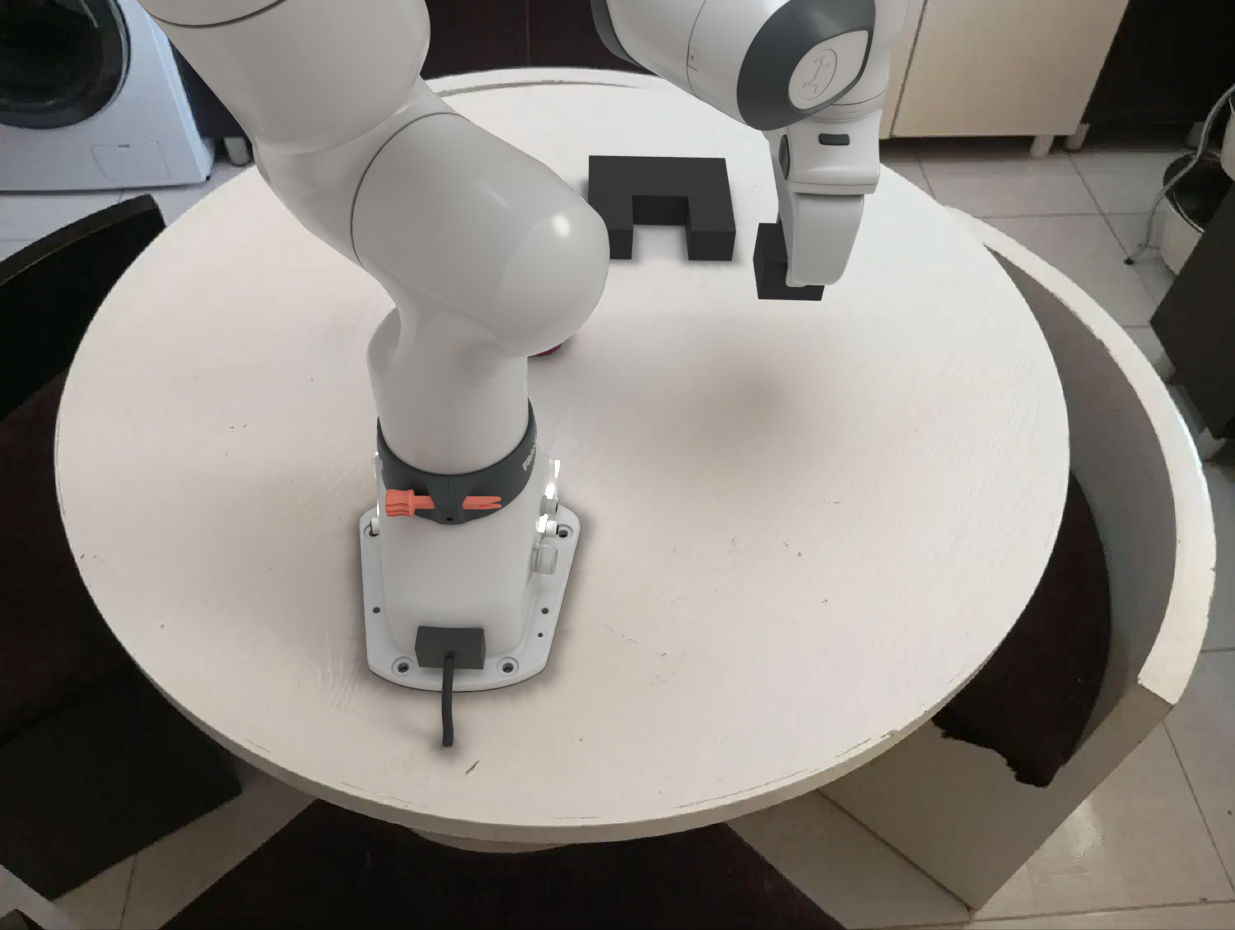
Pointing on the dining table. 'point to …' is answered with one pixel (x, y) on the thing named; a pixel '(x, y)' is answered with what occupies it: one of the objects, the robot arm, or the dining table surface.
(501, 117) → the dining table surface
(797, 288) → the small cube
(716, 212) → the big black u-shaped block
